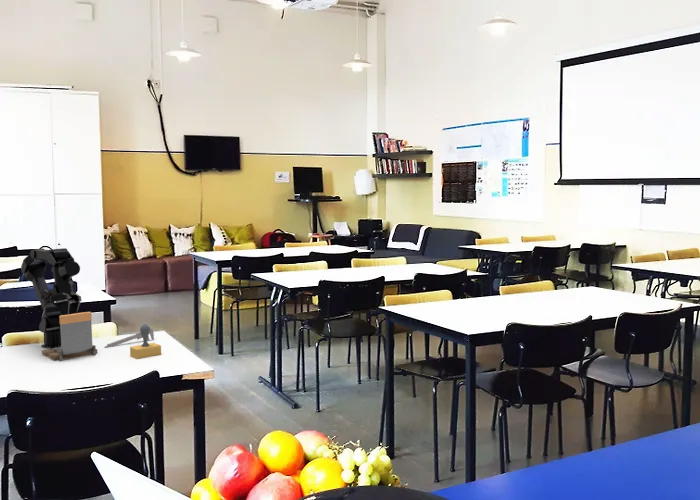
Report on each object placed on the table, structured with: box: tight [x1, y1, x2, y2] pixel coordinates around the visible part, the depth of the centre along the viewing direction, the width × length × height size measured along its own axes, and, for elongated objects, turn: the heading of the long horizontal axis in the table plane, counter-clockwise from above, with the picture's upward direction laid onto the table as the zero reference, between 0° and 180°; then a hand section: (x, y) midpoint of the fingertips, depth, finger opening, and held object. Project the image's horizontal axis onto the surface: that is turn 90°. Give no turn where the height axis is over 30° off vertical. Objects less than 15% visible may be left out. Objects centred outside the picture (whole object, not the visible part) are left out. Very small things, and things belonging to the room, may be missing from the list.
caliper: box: [103, 325, 155, 349], centre depth 277 cm, size 20×1×6 cm, turn 131°
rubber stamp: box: [129, 324, 162, 360], centre depth 259 cm, size 10×6×12 cm, turn 131°
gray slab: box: [59, 311, 93, 356], centre depth 255 cm, size 2×11×15 cm, turn 133°
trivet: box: [41, 344, 98, 362], centre depth 261 cm, size 15×16×4 cm
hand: (69, 320), depth 262 cm, fingers open, 9 cm apart
